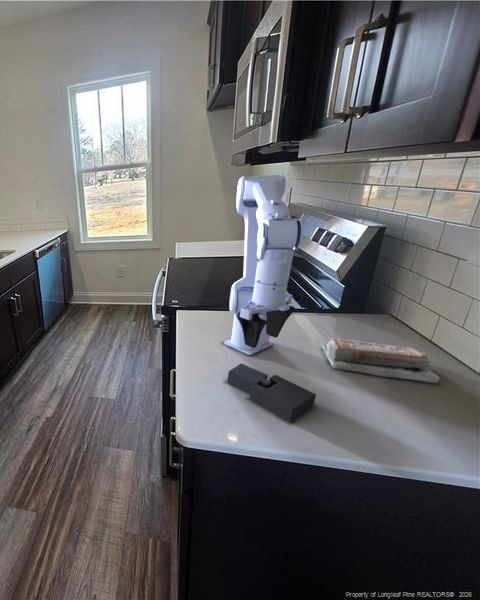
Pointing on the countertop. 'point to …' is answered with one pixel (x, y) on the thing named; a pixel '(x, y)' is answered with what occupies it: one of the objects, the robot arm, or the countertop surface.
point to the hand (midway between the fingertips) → (261, 340)
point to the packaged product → (379, 360)
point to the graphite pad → (247, 378)
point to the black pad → (283, 398)
